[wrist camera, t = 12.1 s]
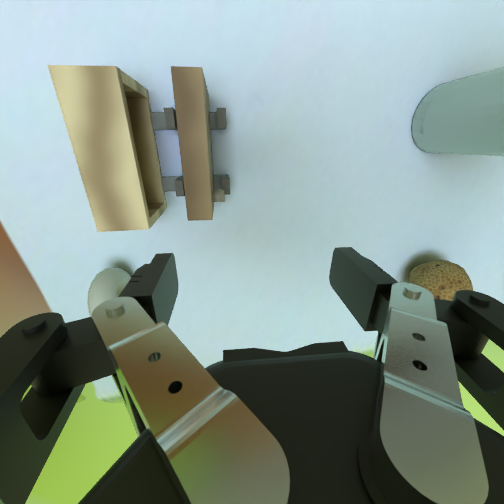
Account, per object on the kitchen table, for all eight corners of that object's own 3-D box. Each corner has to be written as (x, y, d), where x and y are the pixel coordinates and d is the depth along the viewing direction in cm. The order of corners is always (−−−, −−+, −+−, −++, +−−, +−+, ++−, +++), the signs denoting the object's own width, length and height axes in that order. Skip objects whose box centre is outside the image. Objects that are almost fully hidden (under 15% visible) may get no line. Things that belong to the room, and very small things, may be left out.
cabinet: (223, 90, 31) (224, 67, 22) (229, 205, 37) (232, 224, 28) (100, 89, 29) (47, 65, 20) (128, 209, 36) (97, 231, 26)
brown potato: (439, 242, 45) (495, 267, 36) (439, 280, 49) (490, 311, 40) (393, 259, 45) (436, 288, 36) (397, 295, 49) (437, 330, 40)
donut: (105, 258, 38) (70, 293, 29) (127, 254, 38) (99, 289, 29) (127, 308, 42) (102, 352, 33) (146, 304, 43) (127, 348, 34)
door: (219, 94, 31) (219, 68, 20) (224, 196, 36) (225, 219, 25) (188, 94, 30) (170, 66, 19) (197, 197, 36) (187, 220, 25)
